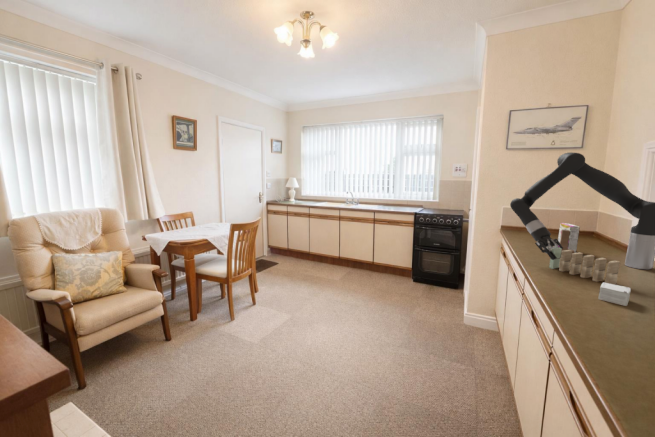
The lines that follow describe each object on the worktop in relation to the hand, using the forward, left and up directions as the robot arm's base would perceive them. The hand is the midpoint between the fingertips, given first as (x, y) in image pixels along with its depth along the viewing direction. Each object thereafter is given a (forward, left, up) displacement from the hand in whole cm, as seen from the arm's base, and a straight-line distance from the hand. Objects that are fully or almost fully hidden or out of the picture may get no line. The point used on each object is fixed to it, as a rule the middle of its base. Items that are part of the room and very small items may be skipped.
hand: (559, 258), depth 142 cm
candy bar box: (-34, -29, -6) cm, 45 cm away
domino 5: (-4, +16, -5) cm, 17 cm away
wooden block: (-24, -19, -6) cm, 31 cm away
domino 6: (-5, +20, -5) cm, 22 cm away
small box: (+10, +34, -6) cm, 36 cm away
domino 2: (-1, +3, -5) cm, 6 cm away
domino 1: (+1, -2, -5) cm, 6 cm away
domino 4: (-3, +11, -5) cm, 13 cm away
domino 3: (-2, +7, -5) cm, 9 cm away
